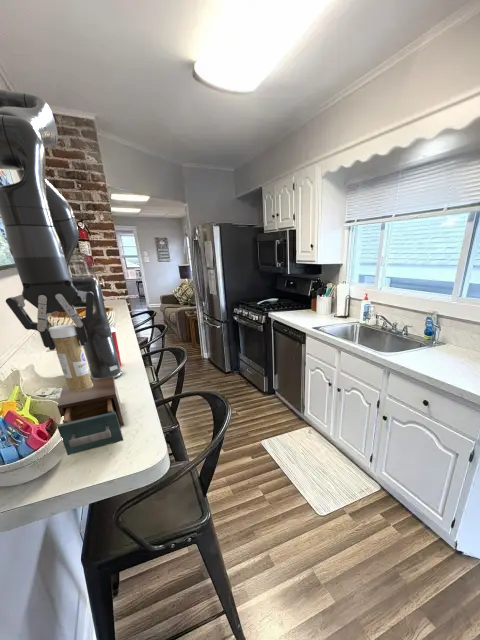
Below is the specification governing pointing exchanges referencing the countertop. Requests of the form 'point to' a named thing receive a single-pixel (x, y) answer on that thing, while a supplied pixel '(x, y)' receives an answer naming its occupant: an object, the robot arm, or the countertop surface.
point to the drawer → (90, 426)
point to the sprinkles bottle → (71, 357)
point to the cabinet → (92, 396)
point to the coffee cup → (115, 342)
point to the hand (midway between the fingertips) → (68, 346)
